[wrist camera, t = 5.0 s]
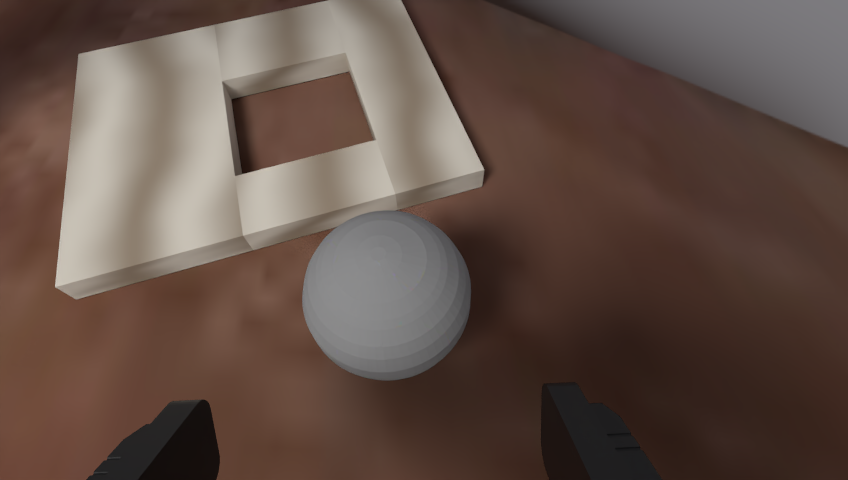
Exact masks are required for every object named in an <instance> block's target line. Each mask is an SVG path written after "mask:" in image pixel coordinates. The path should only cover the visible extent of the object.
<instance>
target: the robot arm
mask: <svg viewBox="0 0 848 480" xmlns="http://www.w3.org/2000/svg"><path fill="white" fill-rule="evenodd" d="M541 447H542V455H543V461H544V465H545V468H546V471H547V474H548V477H549V480H662V479H661V477H660V476H659V474H658V473H657V471H656V470H655V468H654V467H653V465H652V464H651V462H650V461H649V459H648V458H647V456H646V455H645V453H644V452H643V450H640V446H639V444H638V443H637V441H636V440H635V438H634V437H633V436H631V432H630V431H629V429H628V428H627V426H626V425H625V423H624V422H623V420H622V419H621V417H620V416H618V415H617V414H616V413H614V412H613V411H612V410H610V409H609V408H608V407H606V406H605V405H604V404H602V403H592V404H589V403H588V402H587V400H586V398H585V396H584V395H583V393H582V391H581V390H580V388H579V386H578V385H577V383H575V382H569V383H549V384H543V387H542V408H541ZM219 464H220V456H219V450H218V444H217V439H216V434H215V429H214V423H213V418H212V413H211V408H210V405H209V403H208V402H207V401H206V400H186V401H172V402H170V403H169V404H168V405H167V406H166V407H165V408H164V409H163V410H162V412H161V413H160V414H159V415H158V416H157V417H156V418H155V419H154V421H153V422H152V423H151V424H146V425H144V426H143V427H142V428H140V429H139V430H137V431H136V432H134V433H133V434H131V435H130V436H128V437H127V438H125V439H124V440H123V441H122V442H121V443H120V444H119V445H118V446H117V447H116V448H115V449H114V450H113V452H112V453H111V454H110V455H109V456H108V457H107V460H106V461H103V462H102V463H101V465H100V466H99V467H98V468H97V469H96V470H95V471H94V474H93V475H92V476H89V477H88V479H87V480H216V479H217V475H218V471H219Z"/></svg>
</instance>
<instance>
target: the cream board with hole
mask: <svg viewBox="0 0 848 480" xmlns="http://www.w3.org/2000/svg"><path fill="white" fill-rule="evenodd" d="M345 72H350V74H351V77H352V80H353V83H354V86H355V89H356V92H357V95H358V97H359V100H360V103H361V106H362V109H363V112H364V115H365V118H366V120H367V123H368V126H369V129H370V132H371V135H372V138H373V141H370V142H366V143H362V144H358V145H354V146H351V147H347V148H343V149H339V150H335V151H331V152H327V153H323V154H319V155H316V156H312V157H308V158H304V159H300V160H296V161H292V162H288V163H284V164H281V165H277V166H273V167H269V168H265V169H261V170H257V171H253V172H249V173H245V174H242V169H241V163H240V156H239V149H238V142H237V135H236V128H235V122H234V115H233V108H232V101H231V99H234V98H239V97H243V96H247V95H251V94H256V93H260V92H264V91H268V90H273V89H277V88H281V87H285V86H290V85H294V84H298V83H302V82H307V81H311V80H315V79H319V78H324V77H328V76H332V75H336V74H341V73H345ZM483 177H484V168H483V166H482V164H481V162H480V160H479V158H478V156H477V154H476V152H475V150H474V148H473V146H472V143H471V141H470V139H469V137H468V135H467V133H466V131H465V129H464V127H463V125H462V123H461V121H460V119H459V117H458V115H457V113H456V111H455V109H454V107H453V105H452V103H451V101H450V99H449V97H448V95H447V93H446V90H445V88H444V86H443V84H442V82H441V80H440V78H439V76H438V74H437V72H436V70H435V68H434V66H433V64H432V62H431V60H430V58H429V56H428V54H427V52H426V50H425V48H424V46H423V44H422V42H421V40H420V37H419V35H418V33H417V31H416V29H415V27H414V25H413V23H412V21H411V19H410V17H409V15H408V13H407V11H406V9H405V7H404V5H403V3H402V1H401V0H328V1H323V2H318V3H314V4H309V5H304V6H300V7H295V8H291V9H286V10H281V11H277V12H272V13H267V14H263V15H258V16H253V17H249V18H244V19H239V20H235V21H230V22H225V23H221V24H216V25H211V26H207V27H202V28H197V29H193V30H188V31H183V32H179V33H174V34H169V35H165V36H160V37H155V38H151V39H146V40H141V41H137V42H132V43H128V44H123V45H118V46H114V47H109V48H104V49H100V50H95V51H90V52H86V53H81V54H79V55H78V65H77V75H76V85H75V95H74V105H73V115H72V125H71V135H70V145H69V154H68V164H67V174H66V184H65V194H64V204H63V214H62V224H61V234H60V244H59V254H58V263H57V273H56V283H55V287H56V288H57V289H59V290H61V291H63V292H64V293H66V294H68V295H69V296H71V297H73V298H75V299H80V298H83V297H87V296H90V295H94V294H98V293H101V292H105V291H108V290H112V289H116V288H119V287H123V286H126V285H130V284H134V283H137V282H141V281H144V280H148V279H152V278H155V277H159V276H162V275H166V274H170V273H173V272H177V271H180V270H184V269H188V268H191V267H195V266H198V265H202V264H205V263H209V262H213V261H216V260H220V259H223V258H227V257H231V256H234V255H238V254H241V253H245V252H249V251H252V250H256V249H259V248H263V247H267V246H270V245H274V244H277V243H281V242H285V241H288V240H292V239H295V238H299V237H303V236H306V235H310V234H313V233H317V232H321V231H324V230H328V229H331V228H335V227H338V226H339V225H341V224H342V223H344V222H346V221H348V220H349V219H351V218H354V217H356V216H359V215H362V214H365V213H369V212H374V211H383V210H391V211H396V210H400V209H403V208H407V207H410V206H414V205H418V204H421V203H425V202H428V201H432V200H436V199H439V198H443V197H446V196H450V195H453V194H457V193H461V192H464V191H468V190H471V189H475V188H479V187H482V185H483Z"/></svg>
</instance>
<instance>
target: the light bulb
mask: <svg viewBox="0 0 848 480" xmlns="http://www.w3.org/2000/svg"><path fill="white" fill-rule="evenodd" d="M470 299H471V282H470V276H469V272H468V269H467V266H466V264H465V261H464V259H463V257H462V255H461V254H460V252H459V251H458V249H457V248H456V246H455V245H454V243H453V242H452V241H451V240H450V238H449V237H448V236H447V235H446V234H445V233H444V232H443V231H441V230H440V229H439V228H438V227H436V226H435V225H433V224H432V223H430V222H428V221H426V220H425V219H423V218H421V217H418V216H416V215H413V214H410V213H406V212H401V211H391V210H383V211H374V212H369V213H365V214H362V215H359V216H356V217H354V218H351V219H349V220H348V221H346V222H344V223H342V224H341V225H339V226H338V227H337V228H335V229H334V230H333V231H332V232H331V233H330V234H328V235H327V237H326V238H325V239H324V240H323V241H322V243H321V244H320V245H319V247H318V248H317V250H316V251H315V253H314V255H313V256H312V258H311V260H310V262H309V265H308V268H307V271H306V275H305V280H304V287H303V297H302V302H303V311H304V316H305V319H306V323H307V325H308V328H309V330H310V332H311V333H312V335H313V337H314V339H315V340H316V342H317V344H318V345H319V347H320V348H321V349H322V351H323V352H324V353H325V354H326V355H327V356H328V358H330V359H331V360H332V361H333V362H334V363H335V364H337V365H338V366H340V367H341V368H343V369H345V370H346V371H348V372H350V373H353V374H355V375H358V376H361V377H365V378H370V379H375V380H400V379H405V378H409V377H412V376H415V375H418V374H420V373H422V372H424V371H426V370H428V369H430V368H431V367H433V366H434V365H435V364H437V363H438V362H439V361H440V360H441V359H443V358H444V357H445V356H446V355H447V354H448V353H449V352H450V351H451V350H452V348H453V347H454V346H455V345H456V343H457V342H458V340H459V339H460V337H461V335H462V333H463V331H464V329H465V326H466V324H467V320H468V317H469V311H470Z"/></svg>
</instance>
